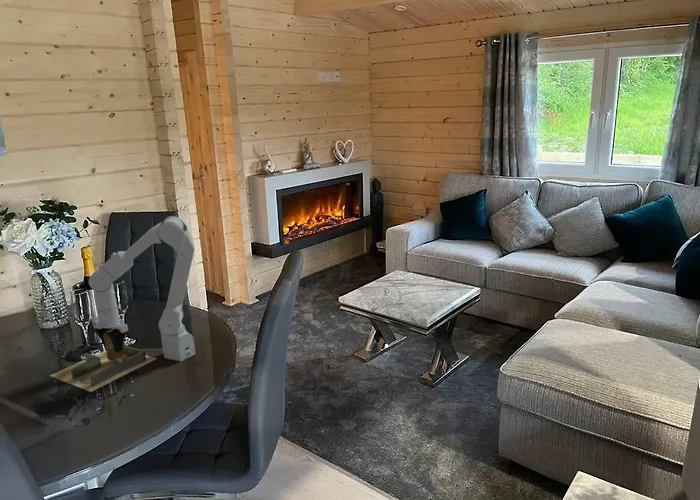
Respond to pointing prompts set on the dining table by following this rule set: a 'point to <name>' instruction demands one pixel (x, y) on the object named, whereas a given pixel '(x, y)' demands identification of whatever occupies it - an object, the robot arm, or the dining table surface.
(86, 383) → the board
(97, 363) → the channel walls
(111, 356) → the peg
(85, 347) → the game controller
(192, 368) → the dining table surface
